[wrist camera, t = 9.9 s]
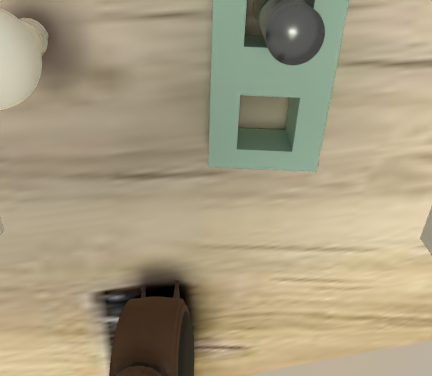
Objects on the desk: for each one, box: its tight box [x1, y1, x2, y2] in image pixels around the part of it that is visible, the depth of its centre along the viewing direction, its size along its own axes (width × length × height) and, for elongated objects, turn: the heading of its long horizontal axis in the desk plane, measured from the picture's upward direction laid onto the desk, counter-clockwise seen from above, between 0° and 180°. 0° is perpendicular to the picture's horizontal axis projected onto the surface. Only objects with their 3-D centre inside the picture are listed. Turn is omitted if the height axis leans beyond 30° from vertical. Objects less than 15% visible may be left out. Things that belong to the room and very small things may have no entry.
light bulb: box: [0, 8, 49, 110], centre depth 28 cm, size 7×7×11 cm
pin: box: [253, 0, 325, 65], centre depth 26 cm, size 3×3×12 cm
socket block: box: [208, 0, 349, 172], centre depth 31 cm, size 9×16×4 cm, turn 178°
